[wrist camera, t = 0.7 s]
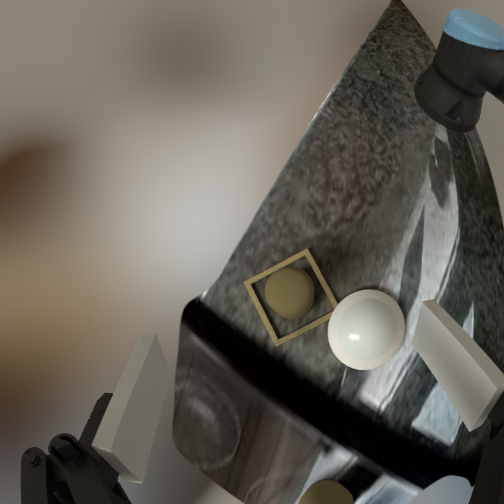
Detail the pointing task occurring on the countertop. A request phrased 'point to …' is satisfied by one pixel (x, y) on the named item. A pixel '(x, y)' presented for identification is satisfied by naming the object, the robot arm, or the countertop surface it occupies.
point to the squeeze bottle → (326, 494)
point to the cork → (290, 292)
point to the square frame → (270, 271)
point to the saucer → (366, 329)
